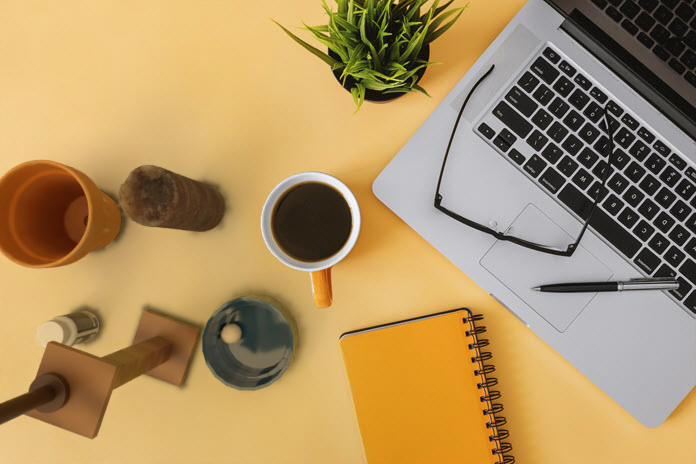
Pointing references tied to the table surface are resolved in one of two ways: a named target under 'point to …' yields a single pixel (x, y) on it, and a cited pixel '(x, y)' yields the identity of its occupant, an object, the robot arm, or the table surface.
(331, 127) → the table surface
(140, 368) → the stand
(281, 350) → the bowl
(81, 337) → the pill bottle
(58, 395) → the stick
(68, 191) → the flower pot
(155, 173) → the brown textured cylinder
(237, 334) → the ball
